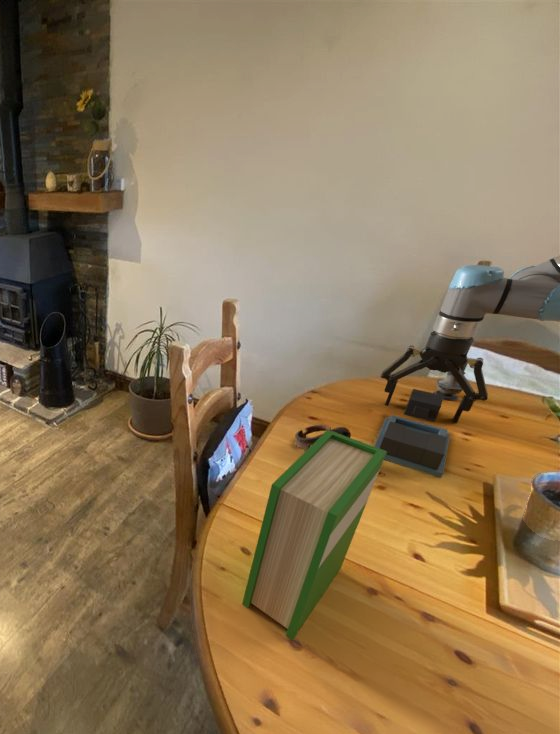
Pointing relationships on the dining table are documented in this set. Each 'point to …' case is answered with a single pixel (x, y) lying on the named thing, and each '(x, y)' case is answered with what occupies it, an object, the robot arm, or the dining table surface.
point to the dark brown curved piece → (306, 442)
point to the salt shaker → (449, 386)
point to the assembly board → (416, 428)
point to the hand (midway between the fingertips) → (419, 411)
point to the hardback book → (310, 527)
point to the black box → (423, 405)
